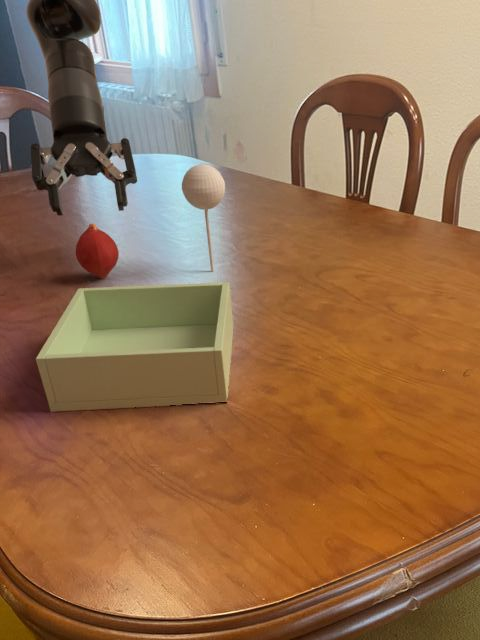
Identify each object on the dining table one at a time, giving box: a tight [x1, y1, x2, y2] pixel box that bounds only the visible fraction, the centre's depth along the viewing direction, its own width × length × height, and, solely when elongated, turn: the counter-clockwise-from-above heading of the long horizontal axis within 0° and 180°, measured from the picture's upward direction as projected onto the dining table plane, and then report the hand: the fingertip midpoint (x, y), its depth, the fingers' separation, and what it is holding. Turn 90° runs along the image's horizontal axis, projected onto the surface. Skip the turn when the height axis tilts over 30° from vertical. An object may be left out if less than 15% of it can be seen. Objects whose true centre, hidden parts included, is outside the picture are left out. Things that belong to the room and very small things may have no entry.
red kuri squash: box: [75, 222, 120, 279], centre depth 94 cm, size 6×6×8 cm
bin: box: [35, 281, 234, 413], centre depth 72 cm, size 18×18×6 cm
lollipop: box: [181, 164, 226, 273], centre depth 94 cm, size 6×6×15 cm
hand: (90, 210), depth 94 cm, fingers open, 8 cm apart
